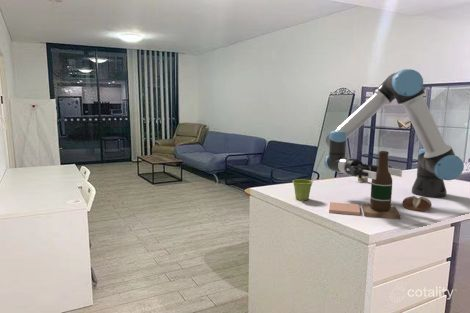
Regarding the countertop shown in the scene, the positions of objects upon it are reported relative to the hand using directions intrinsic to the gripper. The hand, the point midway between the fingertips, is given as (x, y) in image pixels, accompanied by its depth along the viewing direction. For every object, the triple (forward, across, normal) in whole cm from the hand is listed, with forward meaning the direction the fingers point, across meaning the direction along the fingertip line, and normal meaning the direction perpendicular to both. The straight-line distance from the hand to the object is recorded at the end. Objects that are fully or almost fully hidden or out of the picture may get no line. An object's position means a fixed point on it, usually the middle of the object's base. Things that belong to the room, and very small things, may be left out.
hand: (388, 174), depth 129 cm
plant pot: (-34, +18, -17) cm, 41 cm away
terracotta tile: (-12, +11, -16) cm, 23 cm away
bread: (-3, -20, -17) cm, 27 cm away
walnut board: (-3, 0, -16) cm, 17 cm away
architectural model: (-53, -38, -17) cm, 67 cm away
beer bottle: (-3, 0, -15) cm, 16 cm away
